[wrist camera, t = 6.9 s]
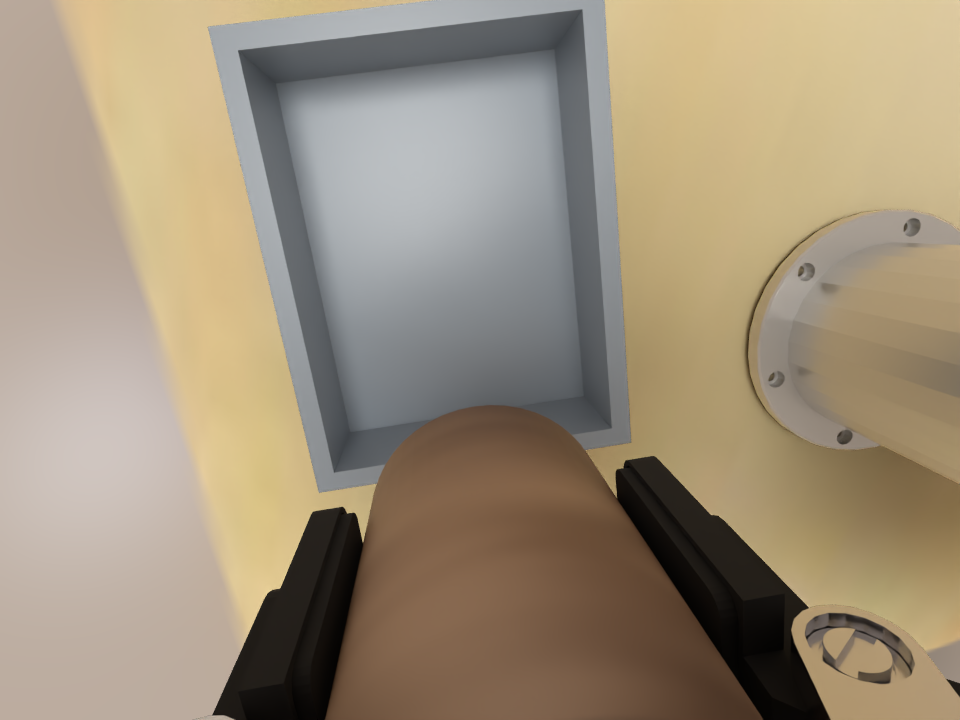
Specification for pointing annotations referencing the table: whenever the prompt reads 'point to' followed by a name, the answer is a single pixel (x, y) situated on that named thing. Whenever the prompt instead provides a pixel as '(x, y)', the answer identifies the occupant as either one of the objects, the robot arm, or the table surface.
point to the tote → (434, 216)
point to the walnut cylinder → (516, 590)
